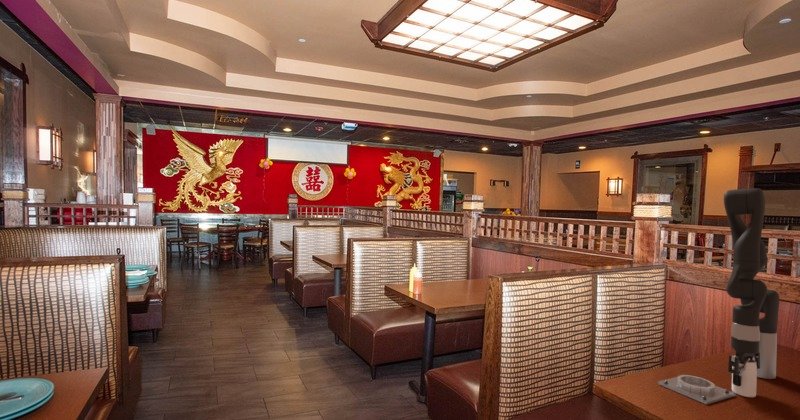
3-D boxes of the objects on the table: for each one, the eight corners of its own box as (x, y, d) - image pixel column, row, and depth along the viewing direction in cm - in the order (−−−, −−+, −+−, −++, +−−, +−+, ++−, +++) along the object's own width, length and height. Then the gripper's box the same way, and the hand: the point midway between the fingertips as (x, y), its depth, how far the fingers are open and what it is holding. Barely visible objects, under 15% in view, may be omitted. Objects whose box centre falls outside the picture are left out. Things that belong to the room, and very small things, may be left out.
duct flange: (685, 377, 152) (686, 369, 152) (735, 396, 137) (735, 387, 137) (658, 384, 145) (658, 376, 145) (706, 404, 131) (706, 395, 131)
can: (760, 399, 135) (761, 363, 135) (738, 396, 136) (739, 361, 136) (748, 390, 141) (749, 356, 141) (727, 388, 143) (728, 354, 143)
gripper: (744, 331, 145) (743, 375, 145) (720, 335, 139) (719, 382, 139) (770, 337, 138) (768, 384, 138) (746, 342, 132) (744, 391, 133)
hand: (743, 383), depth 139 cm, fingers open, 8 cm apart
